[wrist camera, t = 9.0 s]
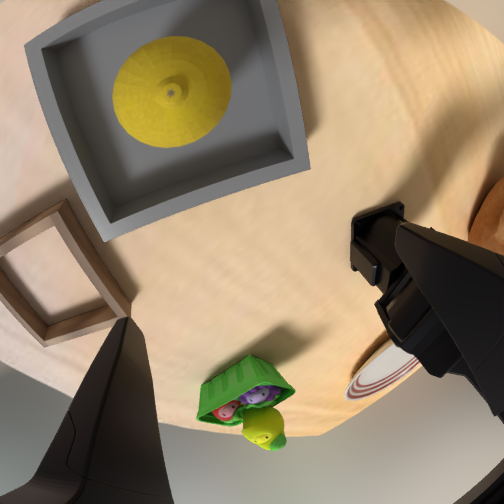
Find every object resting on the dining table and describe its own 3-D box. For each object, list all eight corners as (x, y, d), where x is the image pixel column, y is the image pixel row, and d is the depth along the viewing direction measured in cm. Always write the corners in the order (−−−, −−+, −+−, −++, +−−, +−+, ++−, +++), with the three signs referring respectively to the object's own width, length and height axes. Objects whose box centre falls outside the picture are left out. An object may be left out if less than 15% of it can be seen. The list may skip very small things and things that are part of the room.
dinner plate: (459, 307, 49) (467, 316, 46) (384, 384, 60) (390, 393, 57) (413, 288, 36) (426, 303, 33) (310, 395, 47) (317, 409, 44)
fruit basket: (251, 345, 31) (283, 431, 22) (289, 363, 36) (320, 432, 28) (187, 386, 33) (203, 463, 25) (230, 399, 39) (250, 463, 30)
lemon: (131, 48, 12) (101, 22, 5) (222, 51, 13) (263, 29, 7) (124, 133, 15) (92, 171, 8) (210, 133, 16) (240, 170, 10)
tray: (251, -22, 11) (265, -37, 9) (292, 156, 20) (310, 169, 17) (43, 48, 10) (24, 45, 7) (111, 220, 18) (104, 242, 16)
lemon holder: (66, 198, 16) (57, 210, 15) (131, 303, 23) (130, 320, 21) (-18, 251, 15) (-27, 265, 14) (47, 332, 22) (44, 347, 20)
